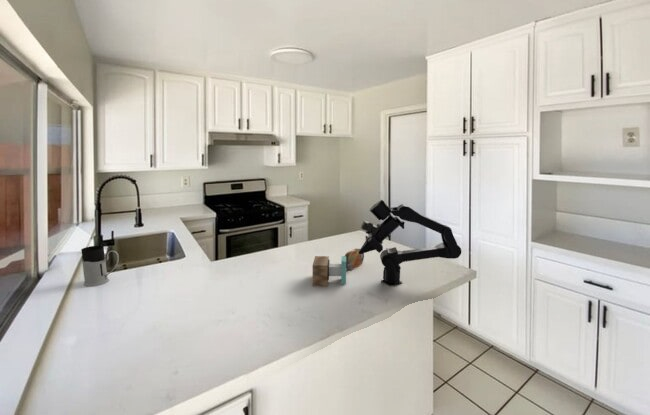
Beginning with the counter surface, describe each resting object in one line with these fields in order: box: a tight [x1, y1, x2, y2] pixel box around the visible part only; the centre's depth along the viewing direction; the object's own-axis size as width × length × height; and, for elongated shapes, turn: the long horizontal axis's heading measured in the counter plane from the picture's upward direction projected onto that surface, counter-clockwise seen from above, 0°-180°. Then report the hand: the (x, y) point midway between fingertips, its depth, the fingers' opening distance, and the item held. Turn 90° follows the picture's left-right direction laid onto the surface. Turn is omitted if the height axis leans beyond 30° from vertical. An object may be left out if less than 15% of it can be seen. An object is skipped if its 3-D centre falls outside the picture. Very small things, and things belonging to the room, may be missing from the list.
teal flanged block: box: [329, 255, 347, 285], centre depth 137 cm, size 9×7×10 cm
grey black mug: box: [80, 245, 120, 288], centre depth 134 cm, size 9×14×15 cm, turn 94°
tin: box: [344, 248, 365, 271], centre depth 155 cm, size 15×3×8 cm, turn 143°
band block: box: [312, 255, 331, 288], centre depth 137 cm, size 6×12×9 cm, turn 177°
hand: (359, 253), depth 135 cm, fingers closed
